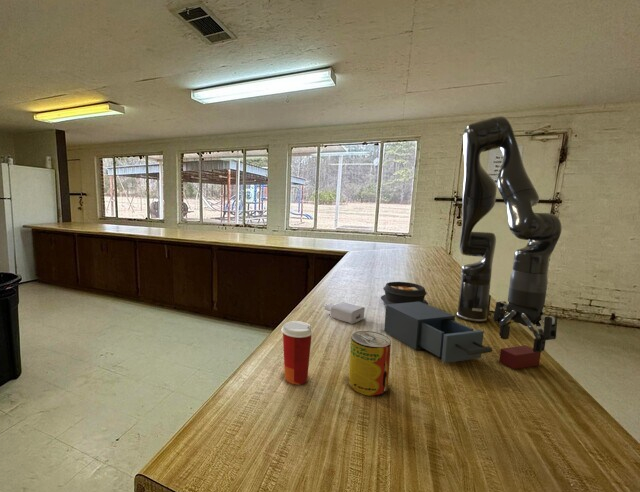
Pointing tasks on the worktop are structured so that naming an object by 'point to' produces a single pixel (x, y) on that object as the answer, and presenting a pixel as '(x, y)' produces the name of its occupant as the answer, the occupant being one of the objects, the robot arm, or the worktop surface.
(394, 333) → the cabinet
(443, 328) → the drawer
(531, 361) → the red rectangular box
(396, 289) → the casserole
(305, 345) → the paper cup
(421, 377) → the worktop surface
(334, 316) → the charger
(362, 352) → the food can
